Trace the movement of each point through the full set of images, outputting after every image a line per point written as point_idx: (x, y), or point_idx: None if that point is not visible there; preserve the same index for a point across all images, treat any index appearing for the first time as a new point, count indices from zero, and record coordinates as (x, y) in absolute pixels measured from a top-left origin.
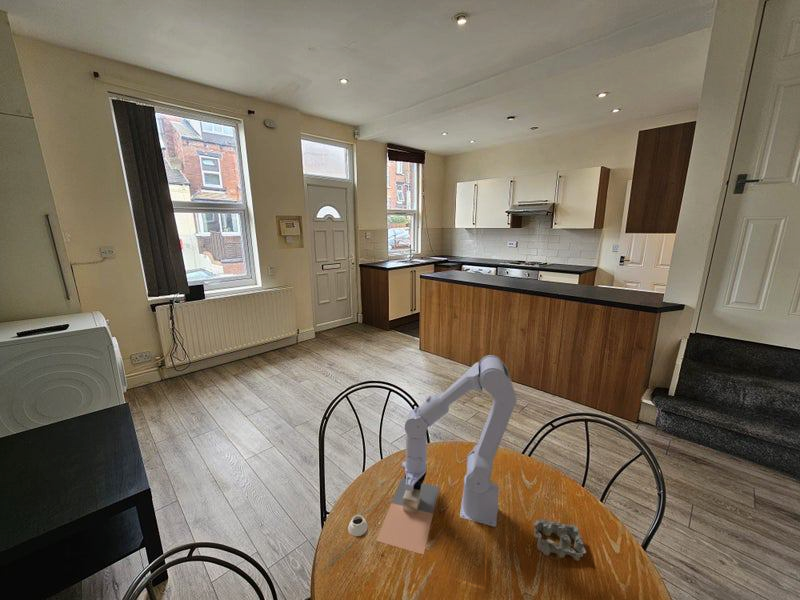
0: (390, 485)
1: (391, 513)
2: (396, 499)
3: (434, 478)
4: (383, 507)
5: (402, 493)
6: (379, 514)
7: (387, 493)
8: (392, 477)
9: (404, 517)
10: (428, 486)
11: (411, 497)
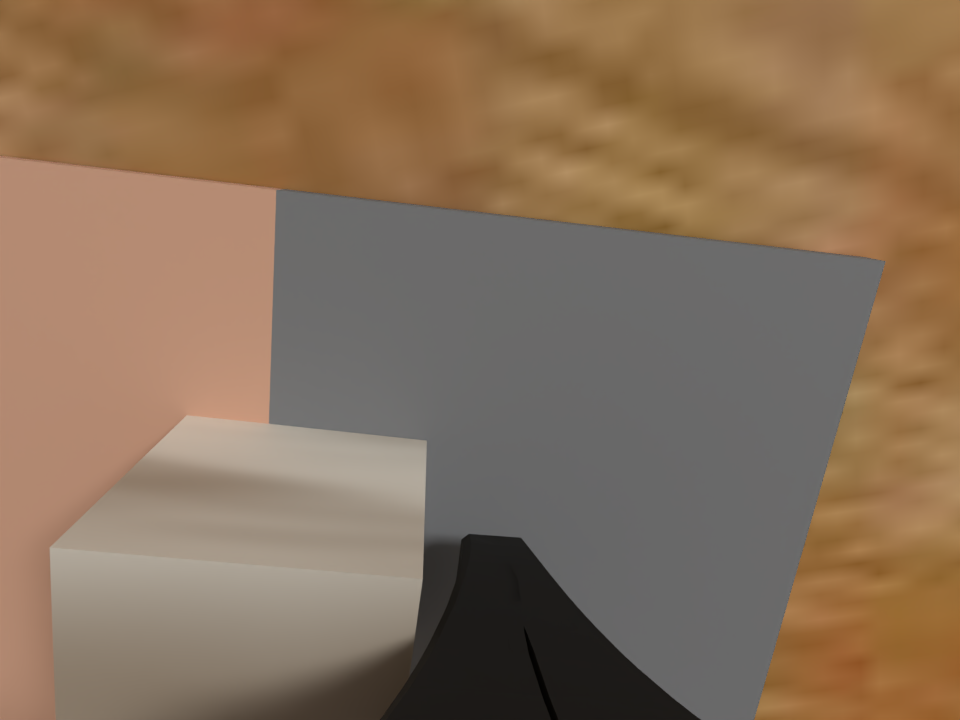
0: (717, 81)
1: (54, 240)
2: (376, 269)
3: (893, 715)
4: (182, 54)
5: (530, 346)
6: (4, 10)
7: (518, 62)
8: (917, 80)
9: (57, 462)
10: (724, 687)
11: (129, 716)
